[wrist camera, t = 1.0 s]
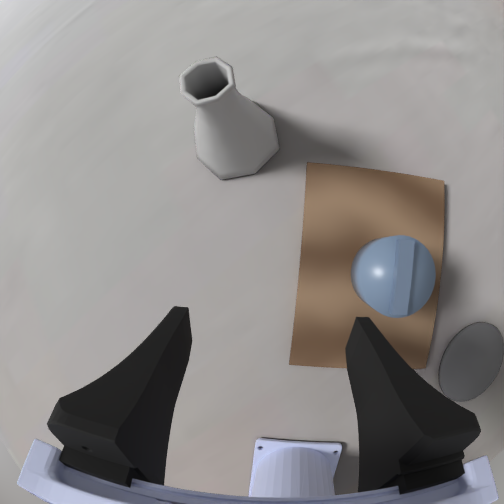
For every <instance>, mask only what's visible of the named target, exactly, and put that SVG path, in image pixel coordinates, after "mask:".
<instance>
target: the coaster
mask: <svg viewBox="0 0 504 504" xmlns="http://www.w3.org/2000/svg"><path fill="white" fill-rule="evenodd" d="M503 354H504V343H503V339H502V336H501V334H500V332H499V330H498V329H497V328H496V327H495V326H493V325H491V324H489V323H485V322H477V323H474V324H471V325H469V326H467V327H465V328H464V329H463V330H461V331H460V332H459V333H458V334H457V335H456V336H455V337H454V338H453V340H452V341H451V342H450V344H449V345H448V347H447V349H446V351H445V353H444V355H443V357H442V360H441V364H440V368H439V383H440V387H441V389H442V391H443V392H444V394H445V395H446V396H447V397H448V398H450V399H451V400H454V401H458V402H463V401H468V400H471V399H473V398H475V397H477V396H478V395H480V394H481V393H483V392H484V391H485V390H486V389H487V388H488V387H489V386H490V384H491V383H492V382H493V380H494V379H495V377H496V376H497V374H498V372H499V369H500V367H501V364H502V360H503Z"/></svg>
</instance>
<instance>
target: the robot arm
mask: <svg viewBox="0 0 504 504" xmlns="http://www.w3.org/2000/svg"><path fill="white" fill-rule="evenodd" d="M191 345H192V335H191V327H190V318H189V309H188V308H187V307H177V306H174V307H173V308H172V309H171V310H170V312H169V313H168V314H167V315H166V317H165V318H164V319H163V320H162V321H161V323H160V324H159V325H158V326H157V327H156V328H155V329H154V331H153V332H152V333H151V334H150V335H149V336H148V337H147V338H146V339H145V340H144V341H143V342H142V343H141V344H140V345H139V346H138V347H137V348H136V349H135V350H134V351H133V352H132V353H131V354H130V355H129V356H128V357H126V358H125V359H124V360H123V361H122V362H120V363H119V364H118V365H117V366H115V367H114V368H113V369H111V370H110V371H109V372H107V373H106V374H104V375H103V376H102V377H100V378H98V379H97V380H95V381H93V382H92V383H90V384H88V385H87V386H85V387H83V388H81V389H79V390H77V391H75V392H73V393H70V394H68V395H66V396H64V397H61V398H59V400H58V402H57V403H56V405H55V407H54V410H53V412H52V414H51V416H50V418H49V421H48V423H47V425H48V428H49V430H50V431H51V432H52V433H53V434H54V435H55V436H56V438H57V439H58V440H59V441H60V442H61V443H62V444H63V445H64V448H63V450H62V451H61V450H60V449H58V448H56V447H54V446H52V445H49V444H47V443H45V442H43V441H40V440H38V439H34V441H33V444H32V446H31V448H30V451H29V453H28V456H27V458H26V460H25V463H24V465H23V468H22V471H21V473H20V476H19V479H18V481H17V484H18V485H19V486H20V487H22V488H24V489H25V490H27V491H28V492H30V493H32V494H33V495H35V496H37V497H38V498H40V499H42V500H44V501H45V502H48V503H49V504H490V503H493V502H494V501H496V500H498V498H499V497H498V493H497V489H496V485H495V481H494V477H493V474H492V471H491V467H490V463H489V460H488V457H487V455H485V456H482V457H480V458H477V459H474V460H471V461H469V462H467V463H465V464H462V460H461V459H463V458H464V452H463V450H464V449H465V448H466V447H468V446H469V445H470V444H471V443H472V442H473V441H474V440H475V439H476V438H477V437H478V436H479V434H480V432H481V429H480V426H479V423H478V421H477V418H476V416H475V414H474V413H473V412H471V411H469V410H467V409H465V408H463V407H461V406H459V405H458V404H456V403H455V402H453V401H451V400H450V399H448V398H447V397H445V396H444V395H443V394H441V393H440V392H438V391H437V390H436V389H435V388H433V387H432V386H431V385H430V384H428V383H427V382H426V381H425V380H424V379H423V378H422V377H420V376H419V375H418V374H417V373H416V372H415V371H414V370H413V369H412V368H411V367H410V366H409V365H408V364H407V363H406V362H405V360H404V359H403V358H402V357H401V356H400V355H399V354H398V353H397V351H396V350H395V349H394V348H393V347H392V345H391V344H390V343H389V342H388V341H387V339H386V338H385V337H384V336H383V334H382V333H381V332H380V330H379V329H378V328H377V327H376V325H375V324H374V323H373V321H372V320H371V319H370V318H369V317H356V319H355V322H354V325H353V328H352V331H351V333H350V336H349V339H348V342H347V345H346V348H345V353H346V363H347V371H348V375H349V380H350V384H351V389H352V393H353V398H354V402H355V407H356V412H357V419H358V432H359V486H358V493H351V494H342V495H335V491H334V485H333V477H334V474H335V471H336V467H337V464H338V461H339V458H340V454H341V451H342V445H341V444H340V443H326V442H302V441H287V440H276V439H266V438H259V439H257V440H256V443H255V451H254V459H253V467H252V475H251V482H250V490H249V497H247V496H233V495H222V494H213V493H205V492H197V491H191V490H185V489H179V488H173V487H168V486H164V478H165V467H166V458H167V449H168V442H169V435H170V429H171V423H172V417H173V412H174V407H175V404H176V400H177V397H178V393H179V390H180V387H181V384H182V381H183V377H184V374H185V371H186V368H187V364H188V361H189V356H190V351H191ZM258 446H262V448H259V447H258ZM334 451H337V452H334Z"/></svg>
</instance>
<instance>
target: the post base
mask: <svg viewBox="0 0 504 504" xmlns="http://www.w3.org/2000/svg"><path fill="white" fill-rule="evenodd" d="M397 235H405V236H410V237H412V238H415V239H417V240H418V241H420V242H421V243H422V244H423V245H424V246H425V247H426V248H427V249H428V251H429V252H430V254H431V256H432V258H433V261H434V265H435V272H436V277H435V285H434V288H433V291H432V294H431V296H430V298H429V299H428V301H427V302H426V304H425V305H424V306H423V307H422V308H421V309H420V310H418V311H417V312H415V313H414V314H412V315H410V316H406V317H402V318H392V317H387V316H385V315H382V314H381V313H379V312H377V311H376V310H375V309H373V308H372V307H370V306H369V305H367V304H366V303H364V302H363V301H362V300H361V299H360V298H359V297H358V296H357V294H356V293H355V291H354V289H353V286H352V282H351V266H352V262H353V260H354V257H355V255H356V254H357V252H358V251H359V250H360V248H361V247H362V246H364V245H365V244H366V243H368V242H369V241H371V240H374V239H377V238H383V237H389V236H397ZM443 241H444V181H442V180H436V179H431V178H425V177H420V176H414V175H408V174H401V173H395V172H388V171H381V170H374V169H366V168H358V167H350V166H341V165H331V164H321V163H310V162H307V170H306V188H305V204H304V219H303V232H302V245H301V257H300V268H299V279H298V289H297V299H296V309H295V318H294V327H293V336H292V344H291V353H290V361H289V365H300V366H314V367H331V368H347V363H346V353H345V348H346V345H347V342H348V339H349V336H350V333H351V331H352V328H353V325H354V322H355V319H356V317H369V318H370V319H371V320H372V321H373V323H374V324H375V325H376V327H377V328H378V329H379V330H380V332H381V333H382V334H383V336H384V337H385V338H386V339H387V341H388V342H389V343H390V344H391V345H392V347H393V348H394V349H395V350H396V351H397V353H398V354H399V355H400V356H401V357H402V358H403V359H404V360H405V362H406V363H407V364H408V365H409V366H410V367H411V368H412V369H422V368H426V363H427V359H428V354H429V349H430V345H431V339H432V334H433V329H434V323H435V317H436V310H437V303H438V296H439V288H440V279H441V269H442V256H443Z"/></svg>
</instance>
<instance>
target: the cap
mask: <svg viewBox="0 0 504 504" xmlns="http://www.w3.org/2000/svg"><path fill="white" fill-rule="evenodd" d="M435 277H436V272H435V265H434V261H433V258H432V256H431V254H430V252H429V251H428V249H427V248H426V247H425V246H424V245H423V244H422V243H421V242H420V241H418V240H417V239H415V238H412V237H410V236H405V235H397V236H389V237H383V238H377V239H374V240H371V241H369V242H368V243H366V244H365V245H364V246H362V247H361V248H360V250H359V251H358V252H357V254H356V255H355V257H354V260H353V262H352V266H351V282H352V286H353V289H354V291H355V293H356V294H357V296H358V297H359V298H360V299H361V300H362V301H363V302H364V303H366V304H367V305H369V306H370V307H372V308H373V309H375V310H376V311H377V312H379V313H381V314H382V315H385V316H387V317H392V318H402V317H406V316H410V315H412V314H414V313H415V312H417V311H418V310H420V309H421V308H422V307H423V306H424V305H425V304H426V302H427V301H428V299H429V298H430V296H431V294H432V291H433V288H434V285H435Z"/></svg>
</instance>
